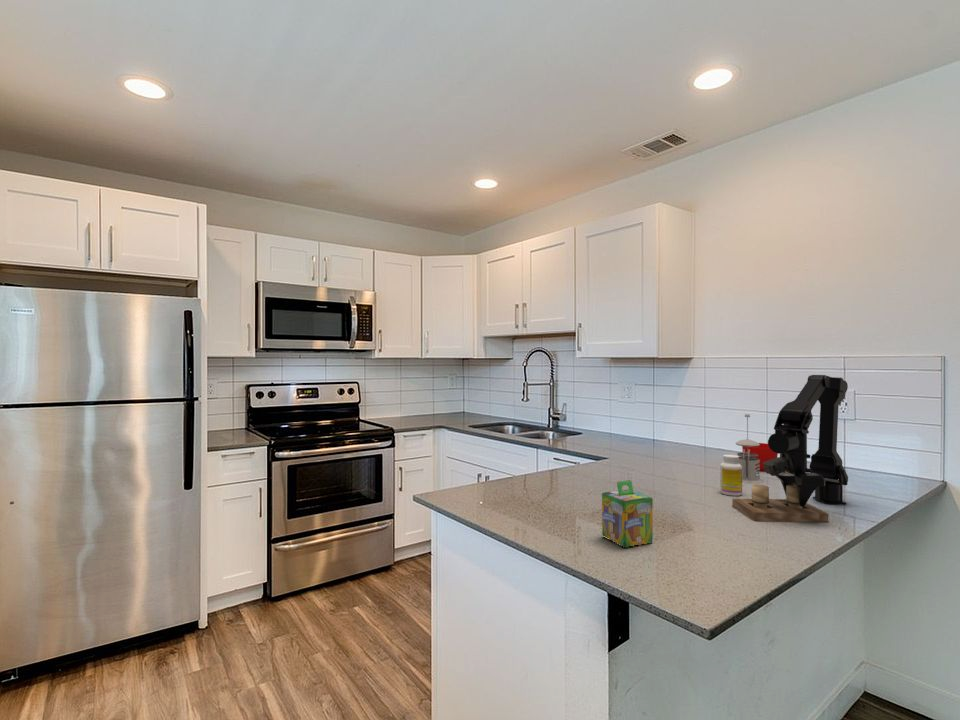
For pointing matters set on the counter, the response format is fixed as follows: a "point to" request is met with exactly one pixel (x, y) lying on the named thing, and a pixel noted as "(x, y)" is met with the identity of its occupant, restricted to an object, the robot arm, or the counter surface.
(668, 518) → the counter surface
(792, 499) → the oak leg
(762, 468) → the ceramic cup
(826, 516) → the brown block with openings
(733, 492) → the supplement bottle
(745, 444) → the french press
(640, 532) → the chalk box
